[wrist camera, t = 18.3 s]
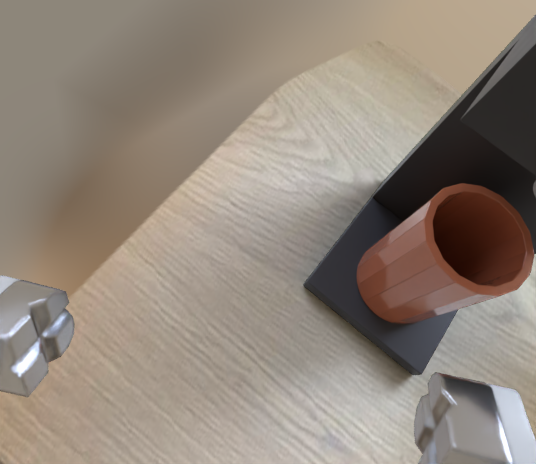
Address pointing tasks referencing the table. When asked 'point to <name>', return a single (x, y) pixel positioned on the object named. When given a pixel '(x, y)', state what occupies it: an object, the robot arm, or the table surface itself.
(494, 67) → the coffee maker
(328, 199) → the table surface
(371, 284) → the cup
